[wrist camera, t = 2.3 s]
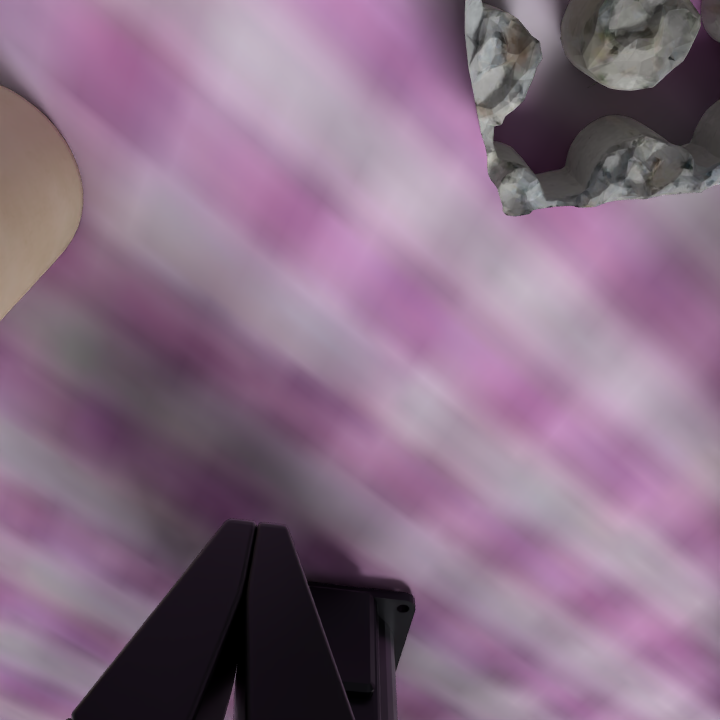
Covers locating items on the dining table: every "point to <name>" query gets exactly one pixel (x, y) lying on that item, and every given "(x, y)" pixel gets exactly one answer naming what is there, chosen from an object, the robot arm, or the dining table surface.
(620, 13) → the grey jagged ring-shaped piece
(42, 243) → the candle
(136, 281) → the dining table surface
